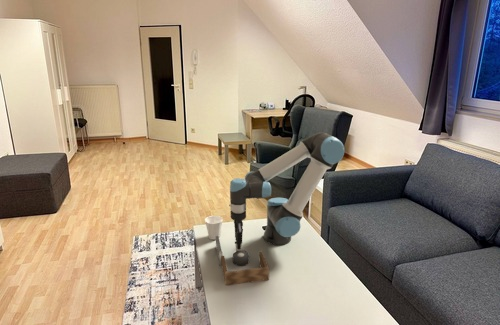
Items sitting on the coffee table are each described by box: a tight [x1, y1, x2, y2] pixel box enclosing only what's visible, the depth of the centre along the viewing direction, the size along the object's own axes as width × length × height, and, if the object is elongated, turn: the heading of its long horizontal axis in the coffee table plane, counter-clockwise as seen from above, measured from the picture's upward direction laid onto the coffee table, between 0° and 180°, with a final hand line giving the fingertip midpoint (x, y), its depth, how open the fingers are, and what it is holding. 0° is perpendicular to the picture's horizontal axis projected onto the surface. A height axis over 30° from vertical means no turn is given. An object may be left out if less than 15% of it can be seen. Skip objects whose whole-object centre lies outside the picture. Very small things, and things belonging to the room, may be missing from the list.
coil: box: [232, 250, 250, 267], centre depth 169 cm, size 8×8×4 cm
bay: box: [221, 251, 270, 286], centre depth 159 cm, size 19×14×6 cm
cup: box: [204, 215, 224, 241], centre depth 190 cm, size 10×10×11 cm
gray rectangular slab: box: [215, 236, 224, 267], centre depth 173 cm, size 18×2×7 cm, turn 11°
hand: (238, 253), depth 173 cm, fingers closed
